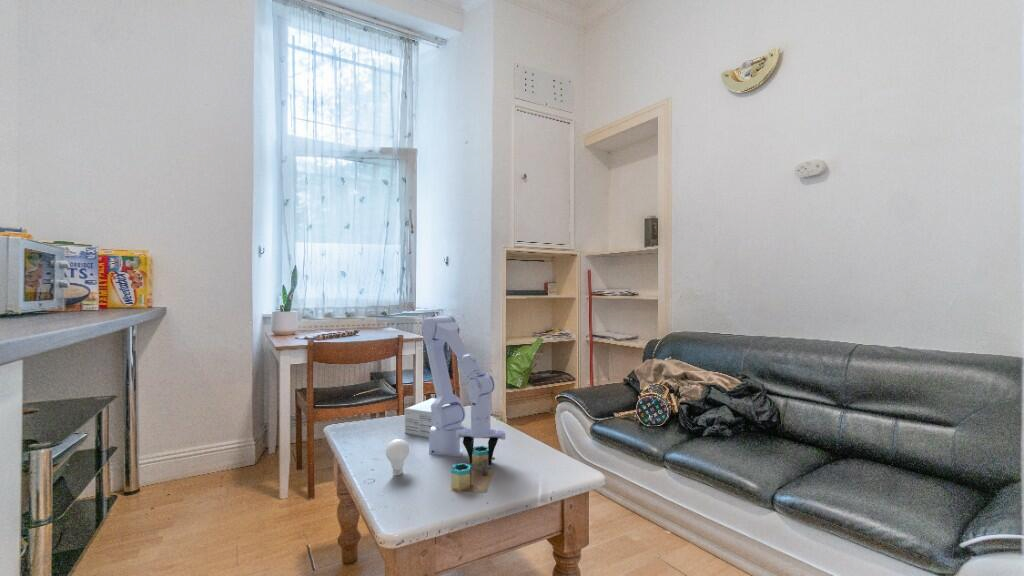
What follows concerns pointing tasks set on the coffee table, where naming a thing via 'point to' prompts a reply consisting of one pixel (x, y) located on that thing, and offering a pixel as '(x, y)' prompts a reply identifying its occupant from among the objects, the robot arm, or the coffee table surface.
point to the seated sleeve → (461, 476)
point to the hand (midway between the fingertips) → (480, 462)
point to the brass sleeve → (479, 455)
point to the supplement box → (419, 418)
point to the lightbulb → (397, 454)
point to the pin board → (480, 479)
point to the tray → (480, 466)
